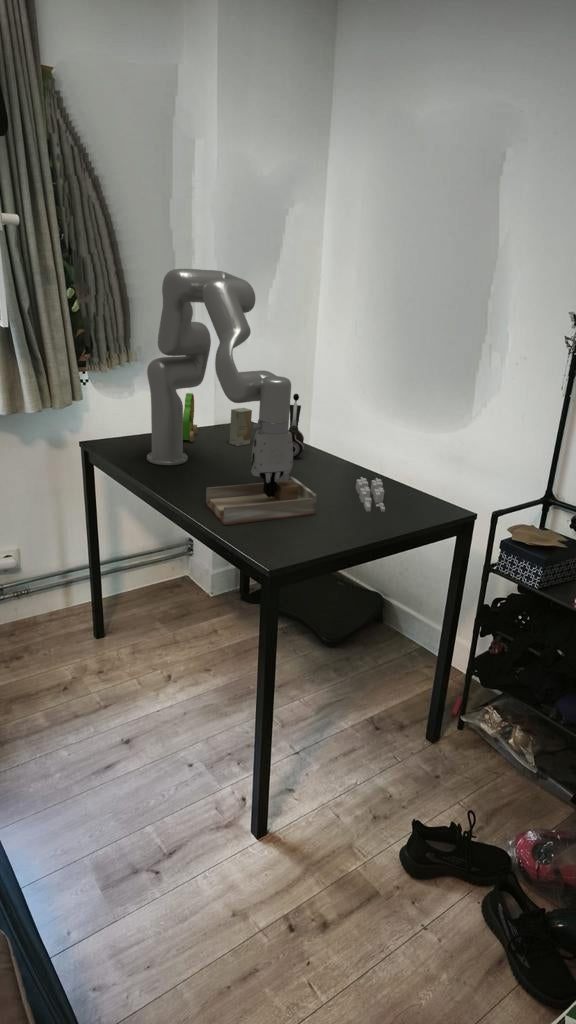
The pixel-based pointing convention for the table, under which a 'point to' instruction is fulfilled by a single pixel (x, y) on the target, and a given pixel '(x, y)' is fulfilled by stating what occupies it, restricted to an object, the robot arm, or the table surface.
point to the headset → (296, 428)
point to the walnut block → (286, 490)
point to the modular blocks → (365, 493)
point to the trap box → (257, 503)
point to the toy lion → (189, 418)
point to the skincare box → (240, 426)
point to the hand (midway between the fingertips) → (269, 495)
